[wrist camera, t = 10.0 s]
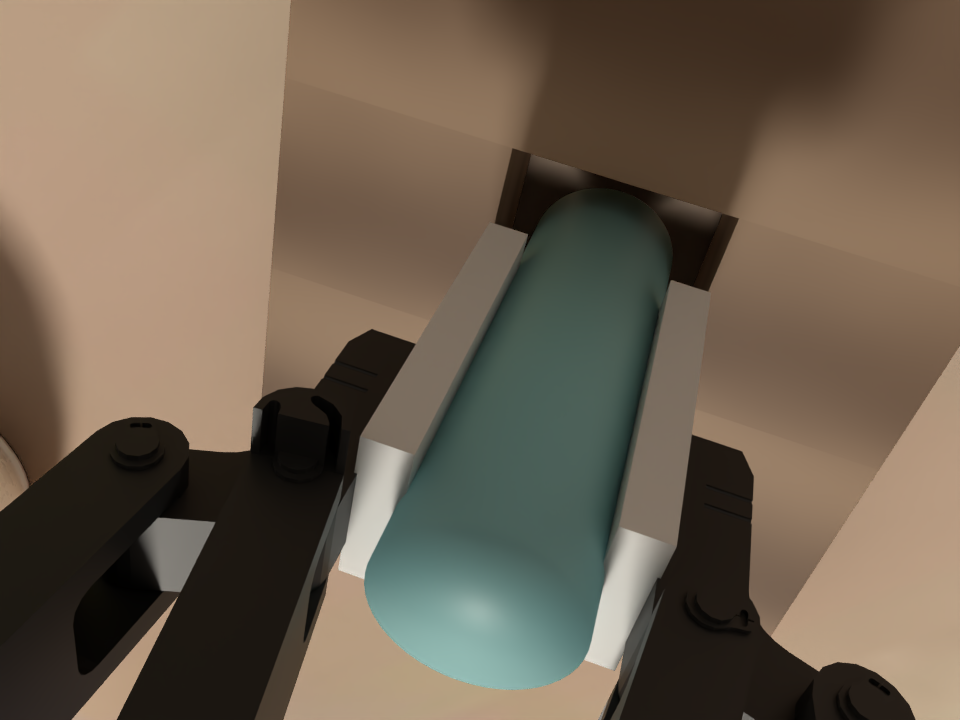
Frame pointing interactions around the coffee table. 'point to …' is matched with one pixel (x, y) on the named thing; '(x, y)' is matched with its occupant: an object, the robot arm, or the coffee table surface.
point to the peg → (530, 458)
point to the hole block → (662, 169)
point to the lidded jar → (10, 475)
